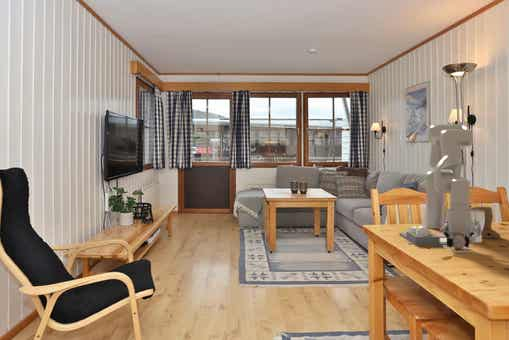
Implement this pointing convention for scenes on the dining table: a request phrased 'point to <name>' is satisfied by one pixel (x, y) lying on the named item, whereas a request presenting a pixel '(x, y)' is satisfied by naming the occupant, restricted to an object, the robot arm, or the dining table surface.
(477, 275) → the dining table surface
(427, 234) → the dome button
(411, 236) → the game board
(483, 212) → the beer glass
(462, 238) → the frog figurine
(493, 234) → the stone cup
